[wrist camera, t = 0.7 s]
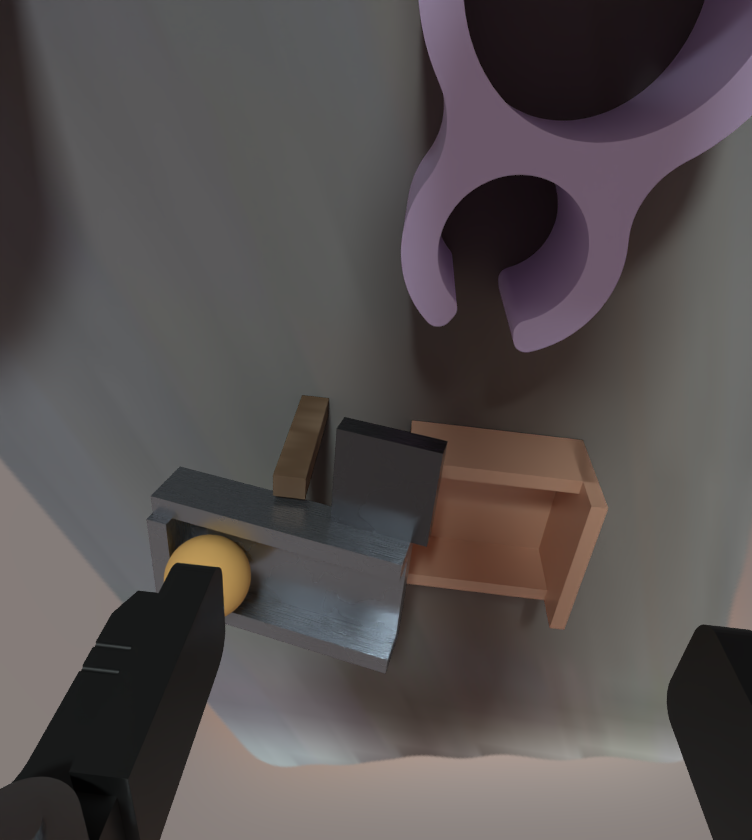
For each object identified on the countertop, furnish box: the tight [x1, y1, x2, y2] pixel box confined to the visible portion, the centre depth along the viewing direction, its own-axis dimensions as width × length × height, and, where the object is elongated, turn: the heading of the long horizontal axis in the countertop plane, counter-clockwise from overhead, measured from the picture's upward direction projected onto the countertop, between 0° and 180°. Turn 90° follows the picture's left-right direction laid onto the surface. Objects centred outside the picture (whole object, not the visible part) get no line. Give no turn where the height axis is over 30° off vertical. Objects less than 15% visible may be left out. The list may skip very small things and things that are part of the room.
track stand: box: [273, 395, 329, 499], centre depth 34 cm, size 2×10×8 cm, turn 175°
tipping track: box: [147, 417, 448, 674], centre depth 29 cm, size 13×12×3 cm
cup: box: [407, 420, 608, 630], centre depth 35 cm, size 10×9×6 cm
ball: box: [164, 534, 251, 616], centre depth 30 cm, size 4×4×4 cm
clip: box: [401, 0, 752, 352], centre depth 23 cm, size 20×12×7 cm, turn 164°
